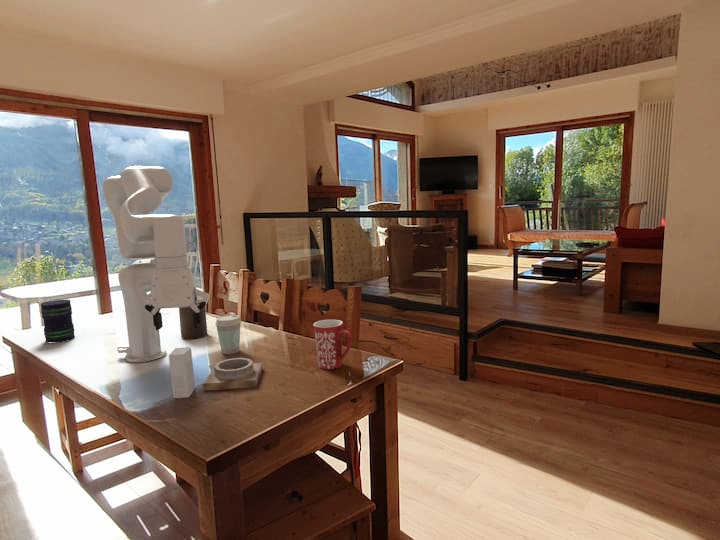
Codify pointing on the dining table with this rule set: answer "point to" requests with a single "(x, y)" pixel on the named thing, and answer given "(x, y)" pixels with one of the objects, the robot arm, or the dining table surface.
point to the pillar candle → (192, 323)
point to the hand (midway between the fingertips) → (178, 327)
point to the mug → (330, 343)
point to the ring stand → (233, 374)
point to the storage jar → (57, 320)
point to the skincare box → (182, 372)
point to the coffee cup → (229, 333)
